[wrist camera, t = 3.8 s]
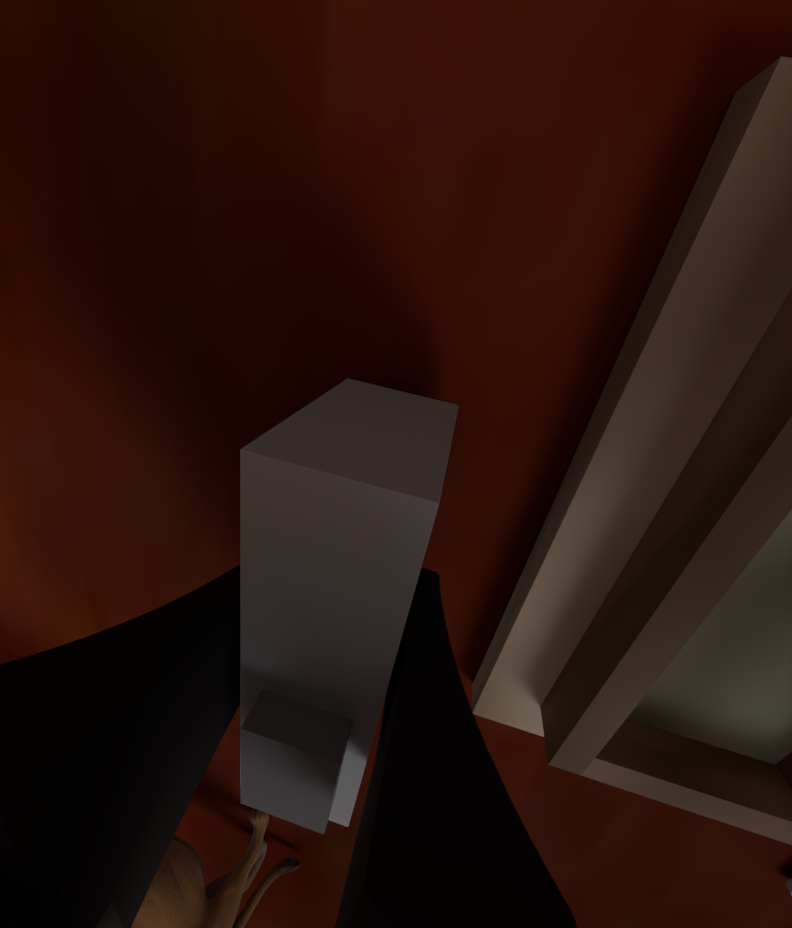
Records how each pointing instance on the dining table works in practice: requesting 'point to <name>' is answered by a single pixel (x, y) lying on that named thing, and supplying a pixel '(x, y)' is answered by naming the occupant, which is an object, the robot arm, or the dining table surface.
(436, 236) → the dining table surface
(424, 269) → the dining table surface
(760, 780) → the cradle jig
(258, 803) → the grey pillar with nub
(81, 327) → the dining table surface
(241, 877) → the lion figurine
